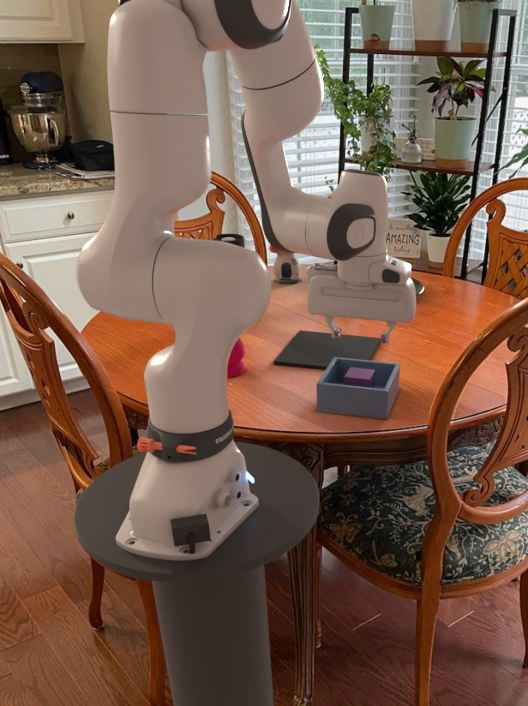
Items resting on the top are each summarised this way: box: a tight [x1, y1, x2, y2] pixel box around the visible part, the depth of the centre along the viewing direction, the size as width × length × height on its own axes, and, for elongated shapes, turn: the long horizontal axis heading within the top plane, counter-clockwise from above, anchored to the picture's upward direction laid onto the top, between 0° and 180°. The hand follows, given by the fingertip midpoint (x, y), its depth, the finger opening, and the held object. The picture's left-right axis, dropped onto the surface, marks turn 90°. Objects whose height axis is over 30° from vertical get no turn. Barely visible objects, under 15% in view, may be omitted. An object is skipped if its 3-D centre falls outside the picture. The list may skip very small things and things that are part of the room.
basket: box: [316, 357, 401, 420], centre depth 139 cm, size 14×14×6 cm
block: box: [344, 367, 375, 388], centre depth 139 cm, size 5×5×5 cm
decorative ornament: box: [268, 244, 301, 285], centre depth 205 cm, size 9×7×15 cm
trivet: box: [273, 330, 381, 371], centre depth 162 cm, size 20×20×1 cm
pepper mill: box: [227, 337, 246, 378], centre depth 147 cm, size 7×7×20 cm
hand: (360, 339), depth 135 cm, fingers open, 8 cm apart
